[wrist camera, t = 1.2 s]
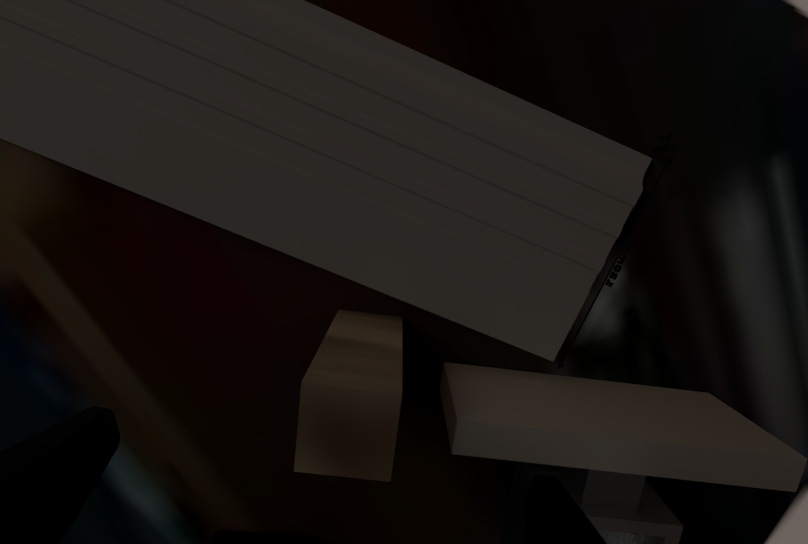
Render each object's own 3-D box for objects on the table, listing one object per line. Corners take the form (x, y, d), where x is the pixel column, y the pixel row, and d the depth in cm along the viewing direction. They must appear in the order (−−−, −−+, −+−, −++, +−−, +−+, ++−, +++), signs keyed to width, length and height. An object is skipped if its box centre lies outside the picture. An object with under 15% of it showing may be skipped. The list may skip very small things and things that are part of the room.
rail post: (394, 376, 22) (390, 481, 14) (333, 368, 22) (293, 471, 14) (402, 317, 21) (402, 393, 13) (338, 309, 21) (301, 382, 13)
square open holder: (606, 561, 22) (649, 640, 18) (498, 549, 22) (518, 627, 18) (641, 425, 21) (697, 481, 17) (525, 412, 21) (554, 465, 17)
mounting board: (701, 419, 22) (795, 491, 17) (439, 388, 22) (451, 454, 17) (708, 392, 22) (807, 459, 17) (443, 361, 22) (457, 419, 16)
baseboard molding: (7, -169, 18) (-46, 111, 20) (-69, -236, 15) (-121, 99, 17) (657, 131, 20) (544, 350, 22) (699, 122, 17) (564, 374, 20)
